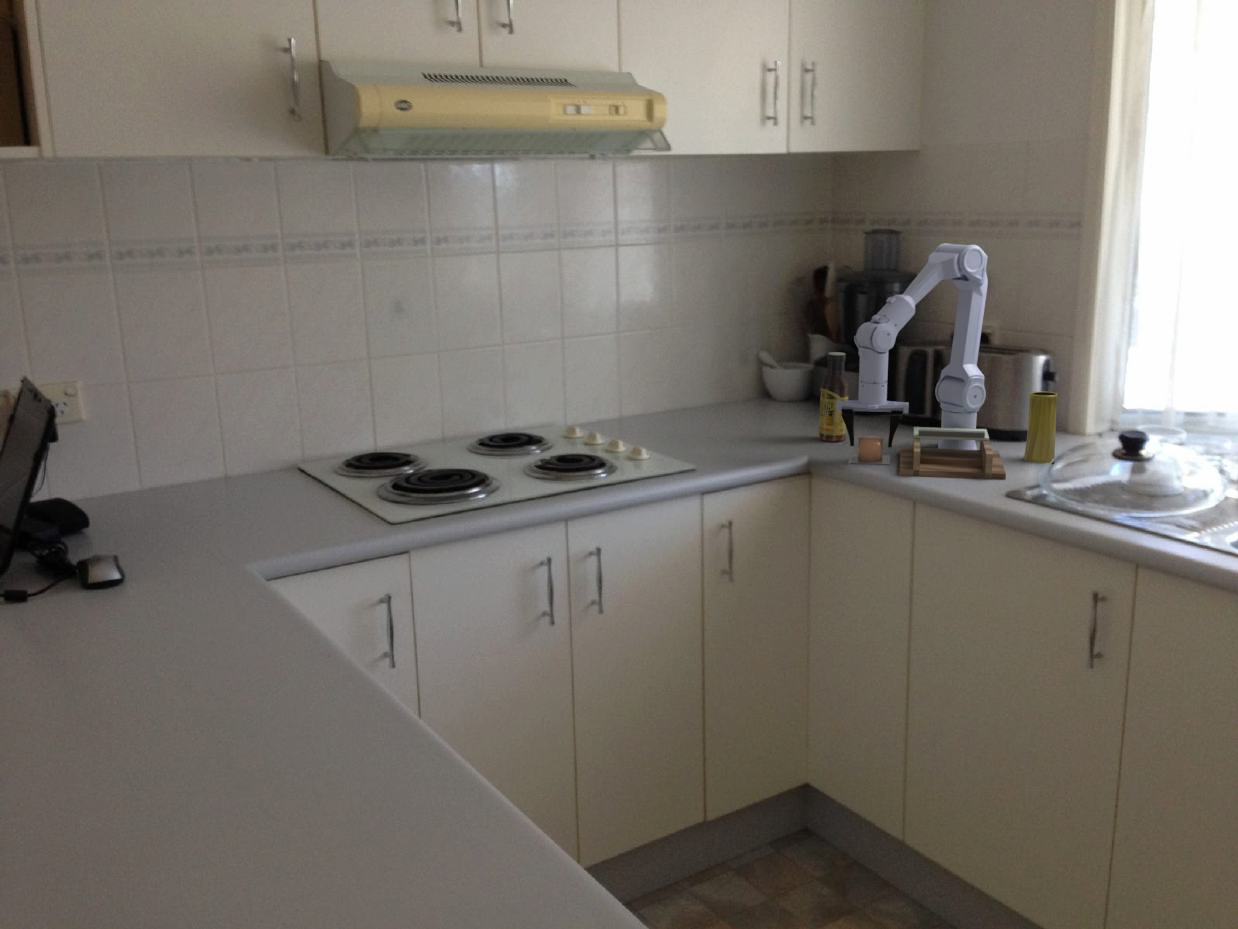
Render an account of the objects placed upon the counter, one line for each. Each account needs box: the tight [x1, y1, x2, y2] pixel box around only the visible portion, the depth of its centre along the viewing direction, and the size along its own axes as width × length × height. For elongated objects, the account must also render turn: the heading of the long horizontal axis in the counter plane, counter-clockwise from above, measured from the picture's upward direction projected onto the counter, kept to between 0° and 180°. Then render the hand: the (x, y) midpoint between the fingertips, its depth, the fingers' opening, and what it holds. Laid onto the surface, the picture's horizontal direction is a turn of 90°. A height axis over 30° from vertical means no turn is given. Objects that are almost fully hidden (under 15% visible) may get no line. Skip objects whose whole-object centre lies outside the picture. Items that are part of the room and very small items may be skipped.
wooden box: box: [898, 435, 1007, 480], centre depth 234 cm, size 20×20×5 cm
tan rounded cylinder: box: [857, 435, 884, 462], centre depth 240 cm, size 5×5×4 cm
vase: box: [1023, 390, 1058, 464], centre depth 236 cm, size 6×6×14 cm
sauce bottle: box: [818, 351, 850, 443], centre depth 259 cm, size 6×6×20 cm
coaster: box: [849, 453, 891, 466], centre depth 240 cm, size 8×8×1 cm
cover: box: [913, 426, 990, 442], centre depth 239 cm, size 9×15×2 cm, turn 76°
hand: (870, 445), depth 240 cm, fingers open, 7 cm apart
